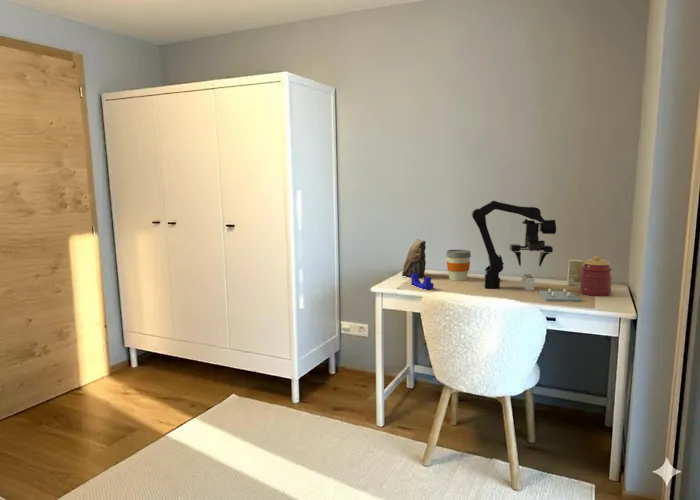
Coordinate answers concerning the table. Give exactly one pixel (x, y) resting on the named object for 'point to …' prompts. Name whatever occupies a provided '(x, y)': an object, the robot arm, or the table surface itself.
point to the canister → (596, 277)
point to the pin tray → (559, 295)
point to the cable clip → (417, 283)
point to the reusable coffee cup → (458, 264)
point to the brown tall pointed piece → (415, 260)
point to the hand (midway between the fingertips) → (529, 266)
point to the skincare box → (574, 272)
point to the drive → (528, 281)
